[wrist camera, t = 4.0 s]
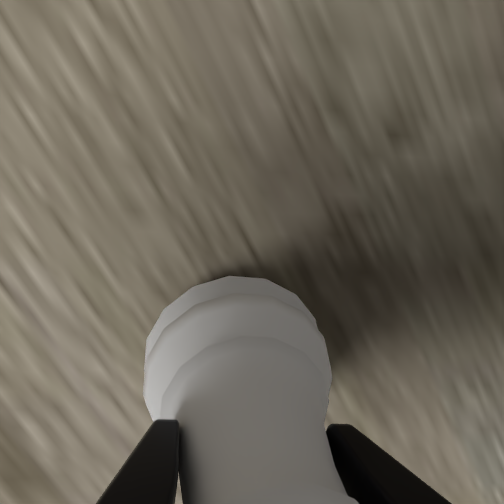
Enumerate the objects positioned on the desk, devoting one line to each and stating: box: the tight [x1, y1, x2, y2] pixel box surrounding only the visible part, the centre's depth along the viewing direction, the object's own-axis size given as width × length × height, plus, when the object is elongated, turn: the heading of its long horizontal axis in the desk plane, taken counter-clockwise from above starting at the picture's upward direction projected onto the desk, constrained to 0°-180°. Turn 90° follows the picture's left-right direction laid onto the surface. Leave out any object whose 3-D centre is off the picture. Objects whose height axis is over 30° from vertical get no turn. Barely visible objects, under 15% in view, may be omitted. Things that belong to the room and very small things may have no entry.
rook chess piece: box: [143, 276, 359, 504], centre depth 7 cm, size 4×4×8 cm
